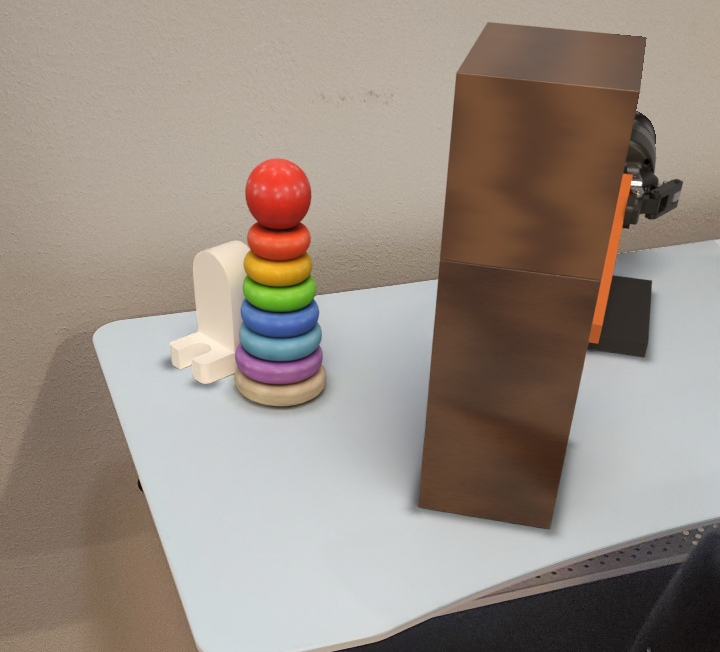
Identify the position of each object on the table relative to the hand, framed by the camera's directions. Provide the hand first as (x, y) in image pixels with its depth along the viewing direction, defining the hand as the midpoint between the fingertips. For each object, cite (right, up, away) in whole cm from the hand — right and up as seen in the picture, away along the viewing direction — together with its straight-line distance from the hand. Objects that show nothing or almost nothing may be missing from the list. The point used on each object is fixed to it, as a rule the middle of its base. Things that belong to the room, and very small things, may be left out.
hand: (608, 215), depth 95 cm
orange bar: (-1, -4, +1) cm, 4 cm away
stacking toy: (-31, -19, -8) cm, 37 cm away
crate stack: (-13, -27, -16) cm, 35 cm away
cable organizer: (-36, -15, -4) cm, 39 cm away
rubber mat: (0, -8, +4) cm, 9 cm away
